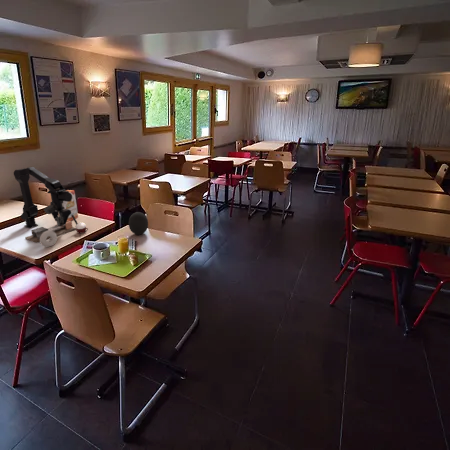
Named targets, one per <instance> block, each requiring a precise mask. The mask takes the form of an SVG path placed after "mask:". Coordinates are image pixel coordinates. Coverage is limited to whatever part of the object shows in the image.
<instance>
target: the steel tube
mask: <svg viewBox="0 0 450 450" xmlns="http://www.w3.org/2000/svg"><path fill="white" fill-rule="evenodd" d="M56 220H57V221H56V224H57V225H54V226H52V227H51V226H50V227H49V228H47V229H48V230H50V231H53V232H54V231H57V230H60V229H63V228H66V226H65V224H64V223H63V219H62V217H61V216H58V217H56Z"/></svg>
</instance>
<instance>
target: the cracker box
mask: <svg viewBox="0 0 450 450" xmlns="http://www.w3.org/2000/svg"><path fill="white" fill-rule="evenodd" d="M65 191H69V193H71V195H72V200H71V201H70V202H67V201H63V202H64V203H62V205H63V207H64V208H65V209H69V210H71V214H70V215H69V217H68V219H67V220H68V221H71V222H72V221H74V219H73V217H72V214H73V215H74V217H75V219H77V218H79V213H78V206H77V200H76V199H77V197H76V192H75V190H74V189H72V190H71V189H70V190H69V189H67V190H66V189H65ZM63 210H64V209H63ZM59 215H60V214H59V212H58V217H59Z"/></svg>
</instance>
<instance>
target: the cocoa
mask: <svg viewBox="0 0 450 450" xmlns="http://www.w3.org/2000/svg"><path fill="white" fill-rule="evenodd" d="M72 217H73V221H74V223H75V227H74V228H76V230H75V231H76V232H77V234H84V233H86V232H87V231H88V230H89V229H88V227H87V226H86V223H84V222H83V221H82V222H81V221H80V222H78V221H77V220H76V219H77V218H75V217H74V215H73V214H72Z"/></svg>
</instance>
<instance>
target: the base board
mask: <svg viewBox="0 0 450 450" xmlns="http://www.w3.org/2000/svg"><path fill="white" fill-rule="evenodd" d="M30 231H31V235H29V236H25V240H27V241H31V242H32V243H35V244H38V243H40V236H41V235H42V233H43V232H45V231H48V228H46V227H45V226H40V227H37V228H34V229H31V230H30ZM74 231H76V228H75V227H74V226H72V228H70V229H66V228H63V229H60V230H57V231H54V232H55V233H56V235H57V237H58V236H61V235H65V234H68V233H70V232H74ZM50 239H51V237H50V236H48V237H47V238H46V241H48V240H50Z"/></svg>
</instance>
